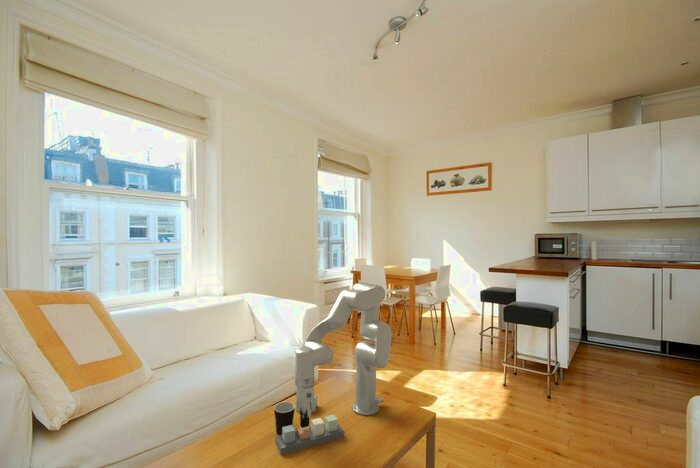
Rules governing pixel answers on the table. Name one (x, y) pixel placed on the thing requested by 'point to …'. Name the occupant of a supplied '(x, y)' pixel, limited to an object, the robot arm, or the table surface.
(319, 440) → the keypad
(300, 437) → the key terracotta
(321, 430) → the key cream
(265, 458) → the table surface
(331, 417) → the key sage
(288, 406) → the coffee mug
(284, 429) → the key slate
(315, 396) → the small box
